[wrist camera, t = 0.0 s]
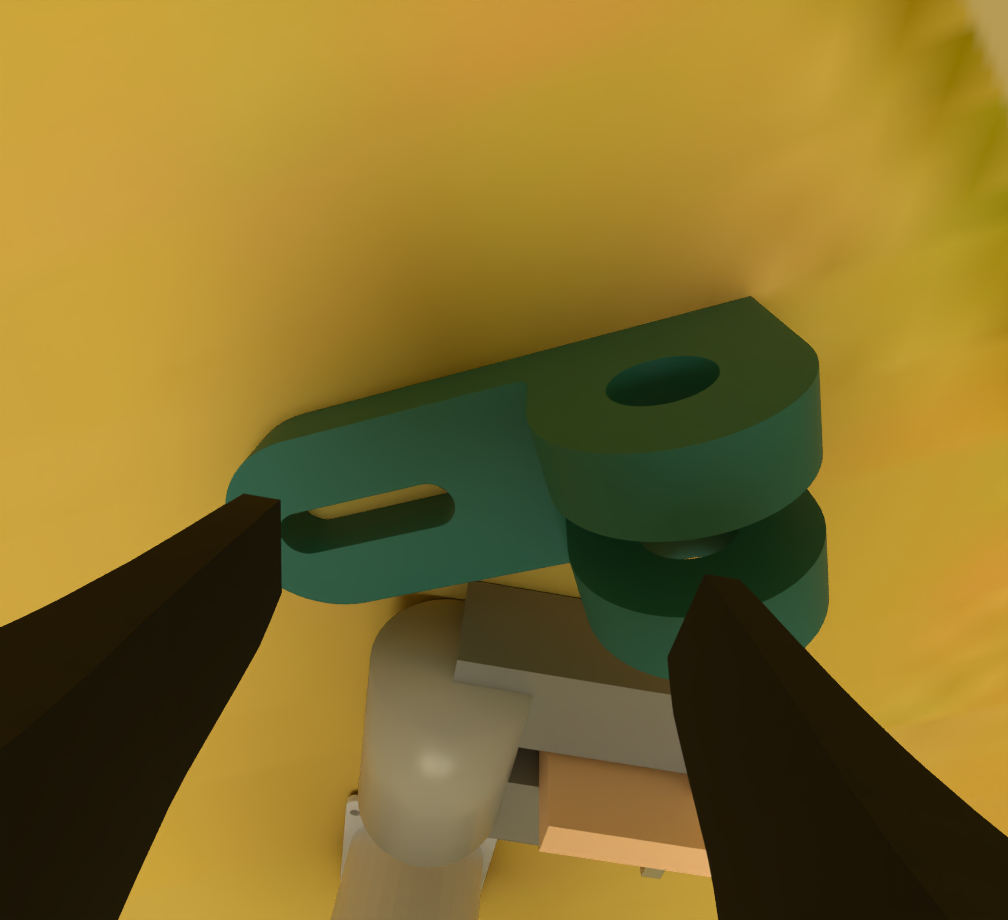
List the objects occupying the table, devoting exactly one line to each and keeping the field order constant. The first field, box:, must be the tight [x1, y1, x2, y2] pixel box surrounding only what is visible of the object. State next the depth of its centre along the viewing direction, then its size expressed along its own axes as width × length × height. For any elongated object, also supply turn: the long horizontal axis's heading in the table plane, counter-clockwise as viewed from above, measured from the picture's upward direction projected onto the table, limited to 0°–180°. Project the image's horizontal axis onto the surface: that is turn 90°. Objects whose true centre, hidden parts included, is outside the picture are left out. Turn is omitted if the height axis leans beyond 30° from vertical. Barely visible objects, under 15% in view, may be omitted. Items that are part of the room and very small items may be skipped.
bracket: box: [226, 296, 829, 679], centre depth 18 cm, size 18×7×8 cm, turn 106°
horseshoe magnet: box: [358, 581, 691, 879], centre depth 23 cm, size 13×10×6 cm
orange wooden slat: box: [539, 751, 711, 877], centre depth 23 cm, size 10×2×6 cm, turn 80°
